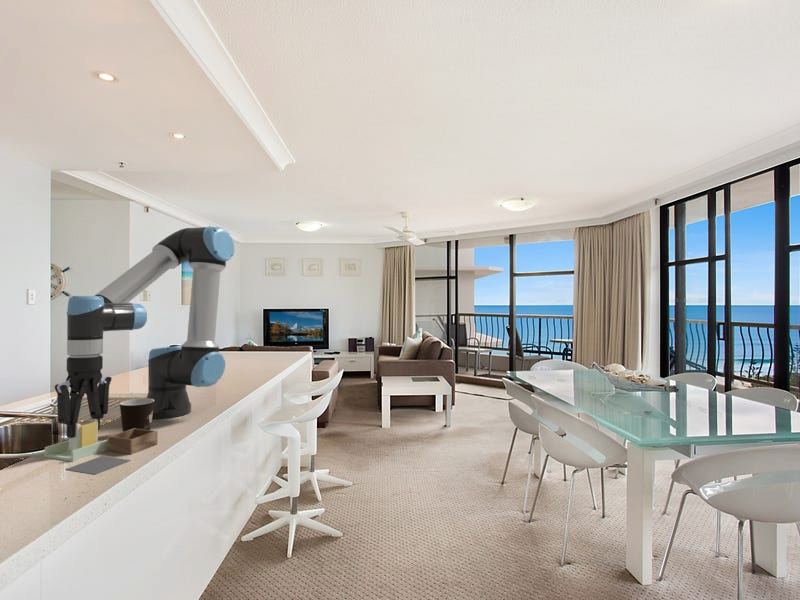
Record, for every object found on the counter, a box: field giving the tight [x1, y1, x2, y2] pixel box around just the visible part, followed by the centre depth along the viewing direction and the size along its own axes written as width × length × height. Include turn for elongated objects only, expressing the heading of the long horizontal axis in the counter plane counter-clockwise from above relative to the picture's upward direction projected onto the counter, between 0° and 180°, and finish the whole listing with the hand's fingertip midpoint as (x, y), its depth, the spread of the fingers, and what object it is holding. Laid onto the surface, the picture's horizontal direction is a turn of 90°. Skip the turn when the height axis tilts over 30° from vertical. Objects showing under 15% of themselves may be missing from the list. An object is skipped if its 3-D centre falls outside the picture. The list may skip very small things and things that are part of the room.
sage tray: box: [44, 439, 107, 463], centre depth 112 cm, size 12×9×3 cm
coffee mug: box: [119, 398, 155, 432], centre depth 127 cm, size 12×9×10 cm
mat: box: [65, 455, 131, 476], centre depth 103 cm, size 9×9×1 cm
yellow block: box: [70, 420, 97, 453], centre depth 112 cm, size 4×4×7 cm
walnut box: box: [106, 428, 158, 455], centre depth 116 cm, size 8×8×4 cm
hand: (83, 446), depth 112 cm, fingers closed on yellow block, 4 cm apart
